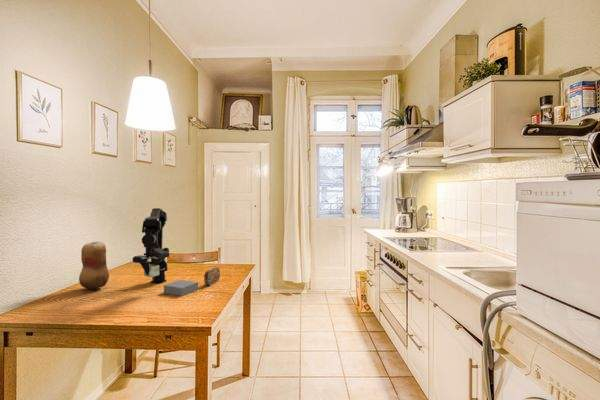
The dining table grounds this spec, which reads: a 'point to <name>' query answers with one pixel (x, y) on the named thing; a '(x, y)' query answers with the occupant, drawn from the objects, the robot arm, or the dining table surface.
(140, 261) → the robot arm
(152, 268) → the cube
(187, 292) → the plinth
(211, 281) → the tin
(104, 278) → the butternut squash
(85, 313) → the dining table surface
